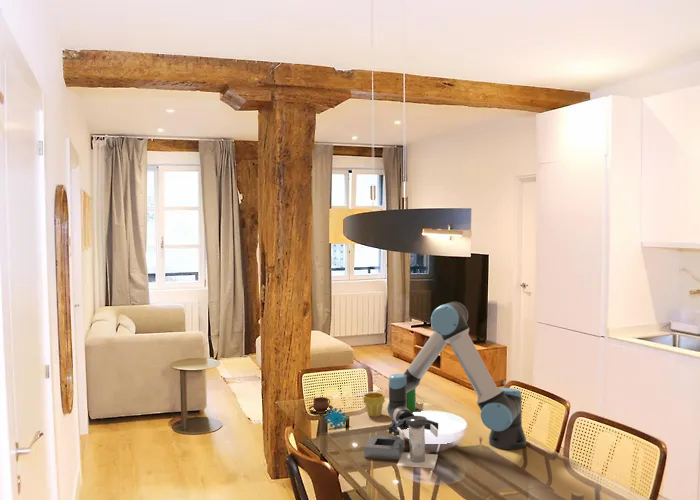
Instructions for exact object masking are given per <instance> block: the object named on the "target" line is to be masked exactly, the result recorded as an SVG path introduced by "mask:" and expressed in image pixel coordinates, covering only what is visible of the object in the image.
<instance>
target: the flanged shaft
mask: <svg viewBox="0 0 700 500" xmlns="http://www.w3.org/2000/svg"><path fill="white" fill-rule="evenodd" d="M427 420H428V418H427V417H425V416H422V415H414V416H410V417H407V418H406V424H407V425H409V429H408V437H409V438H408V441H409V442H408V443H409V453H410V461H411V462H415V463H421V462H424V461H425V454H426V439H425V437H426V436H425V433H426V432H425V431H426V430H425V429H424V425H426V424H427Z"/></svg>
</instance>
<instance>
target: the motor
mask: <svg viewBox="0 0 700 500" xmlns="http://www.w3.org/2000/svg"><path fill="white" fill-rule="evenodd" d="M416 400H417V399H416V388H415V389H413V390H411V391H409V392H408V393H407V408H408V410H410V411H411V412H414V411H416V410H417V404H416V403H417V401H416Z"/></svg>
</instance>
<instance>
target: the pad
mask: <svg viewBox="0 0 700 500" xmlns="http://www.w3.org/2000/svg"><path fill="white" fill-rule="evenodd" d="M438 456H439V455H438V454H432V453H430V454H429V453H425V461H424V462H421V463H415V462H411V461H410V452H404V451H403V453H402V455H401V457H400V459H399V460H398V462H397V463H396V466H399V467H412V468H413V467H414V468H422V469H423V468H425V469H430V471H433V472H434V471H435V468H436V464H437V460H438Z"/></svg>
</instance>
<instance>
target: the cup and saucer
mask: <svg viewBox="0 0 700 500" xmlns="http://www.w3.org/2000/svg"><path fill="white" fill-rule="evenodd" d="M330 404H331V400H330V399H329V398H328V397H325V396H322V397H321V396H320V397H315V398H313V405H310V406H309V407H308V410H309V411H310V412H312V413H314V412H316V414H325V413H324V412H326V413H327V412H329V413H330V411H329V410H327V408H328V407H329V408H330V409H332V410H334V407H333V405H330ZM312 407H314V409H315V410H316V411H313V410H310V409H311V408H312ZM325 410H327V411H325Z"/></svg>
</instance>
